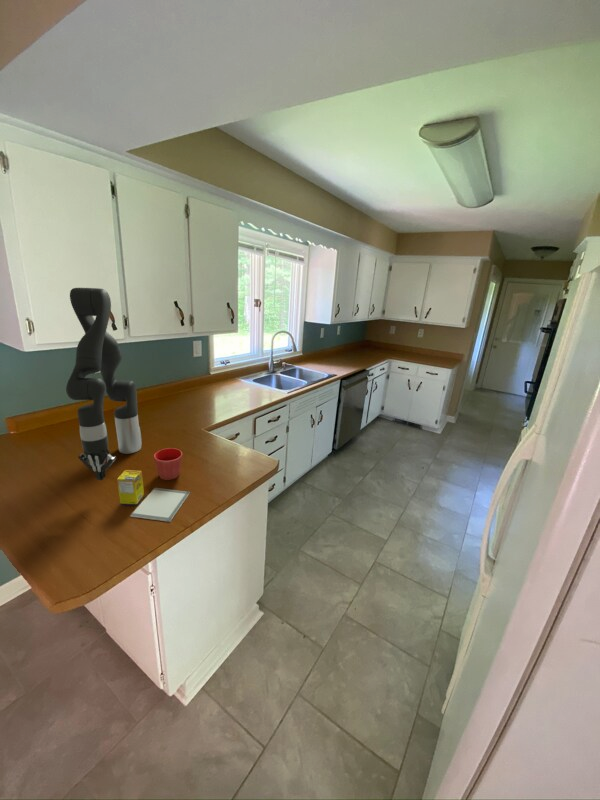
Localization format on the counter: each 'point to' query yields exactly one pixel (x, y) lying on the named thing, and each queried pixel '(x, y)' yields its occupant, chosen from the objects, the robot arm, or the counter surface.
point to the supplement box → (130, 487)
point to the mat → (161, 504)
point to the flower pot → (168, 463)
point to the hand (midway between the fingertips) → (100, 478)
